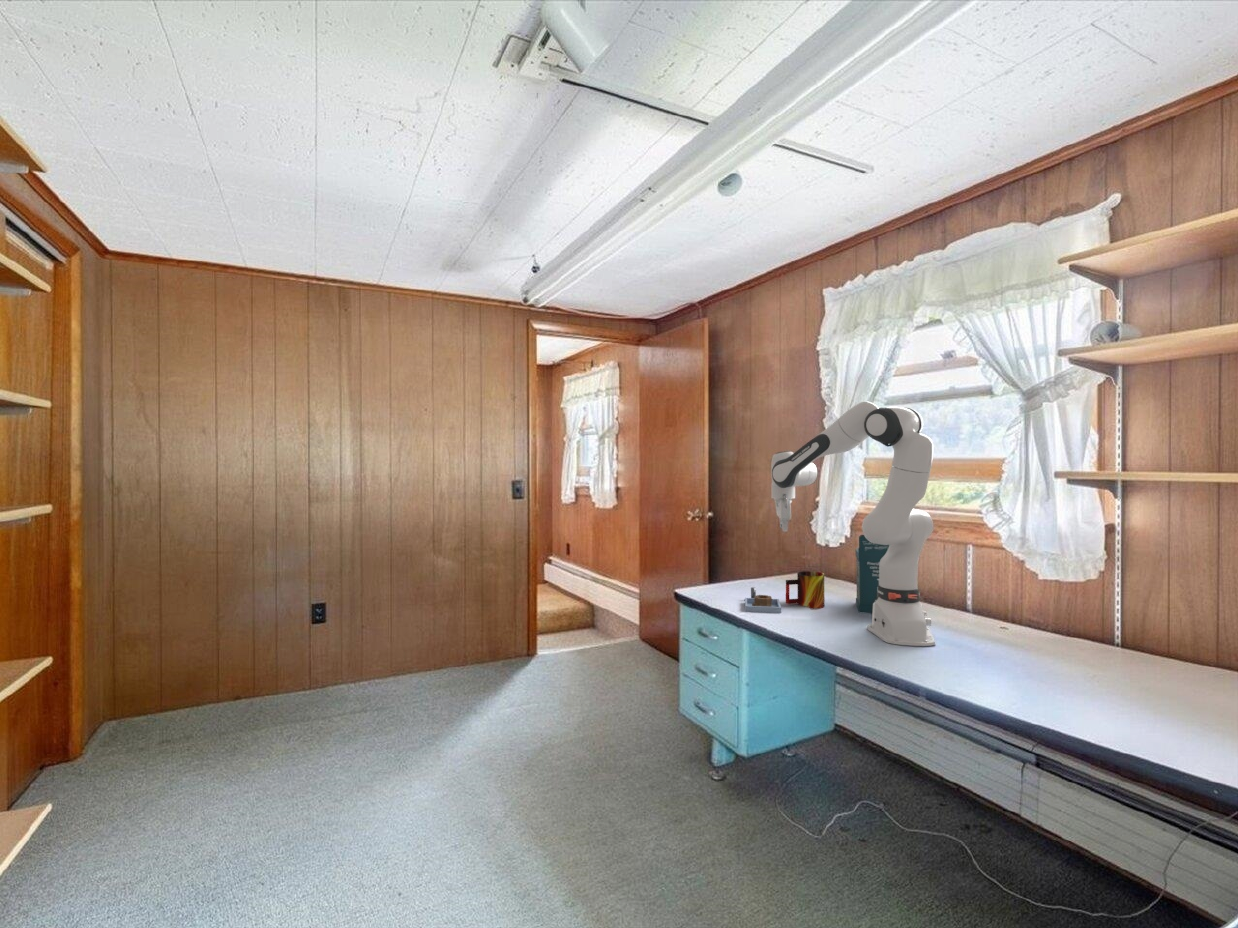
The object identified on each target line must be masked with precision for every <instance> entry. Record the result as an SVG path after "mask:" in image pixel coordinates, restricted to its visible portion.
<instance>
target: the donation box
mask: <svg viewBox="0 0 1238 928" xmlns="http://www.w3.org/2000/svg"><path fill="white" fill-rule="evenodd" d="M888 548H889V545H880V544H875V543H871V542H870V541H868V540H867V539H866V538H865V536H864V534H861V535H858V548H855V557H856V560H855V561H856V598H855V606H856V608H857V611H858V613H862V614H873V603H874V602H875V601H876V600H877V599H878V597H879V596H878V591H877V589H878V585H879V563H880V560H881V558H882V557H883V556H884V555H885V554H886V552H887V550H888Z"/></svg>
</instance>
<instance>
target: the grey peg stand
mask: <svg viewBox="0 0 1238 928" xmlns="http://www.w3.org/2000/svg"><path fill="white" fill-rule="evenodd" d="M756 593H757V590H756V587H755V586H754V587H753V586H752V587H750V598H754V596H756V595H757V594H756ZM743 600H744V602H745V598H744V599H743Z"/></svg>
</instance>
